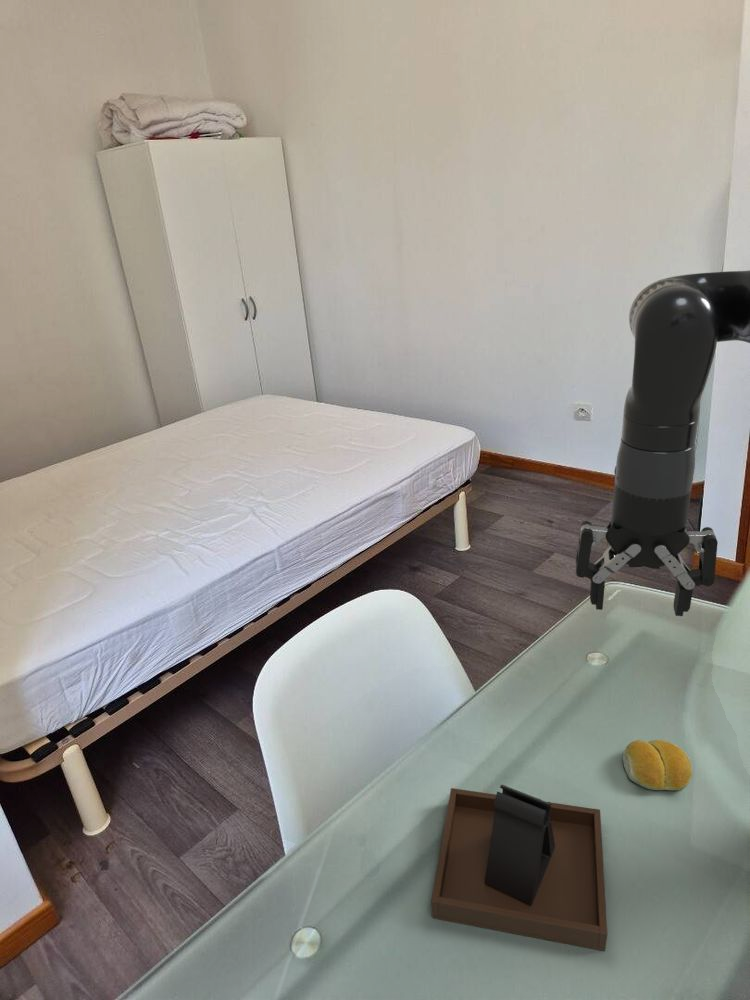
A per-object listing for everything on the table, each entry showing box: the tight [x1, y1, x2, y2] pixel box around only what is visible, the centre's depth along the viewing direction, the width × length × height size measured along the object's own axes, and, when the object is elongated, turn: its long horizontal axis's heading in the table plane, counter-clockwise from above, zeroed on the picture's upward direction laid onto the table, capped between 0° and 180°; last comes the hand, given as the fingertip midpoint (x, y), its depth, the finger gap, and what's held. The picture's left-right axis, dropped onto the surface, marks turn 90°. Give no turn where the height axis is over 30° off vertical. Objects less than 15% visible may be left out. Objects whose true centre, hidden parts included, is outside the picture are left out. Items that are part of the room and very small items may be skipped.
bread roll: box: [622, 739, 693, 791], centre depth 98 cm, size 8×9×4 cm
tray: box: [430, 787, 608, 952], centre depth 86 cm, size 20×17×3 cm
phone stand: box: [484, 784, 555, 906], centre depth 84 cm, size 9×6×12 cm, turn 148°
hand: (638, 609), depth 79 cm, fingers open, 8 cm apart
